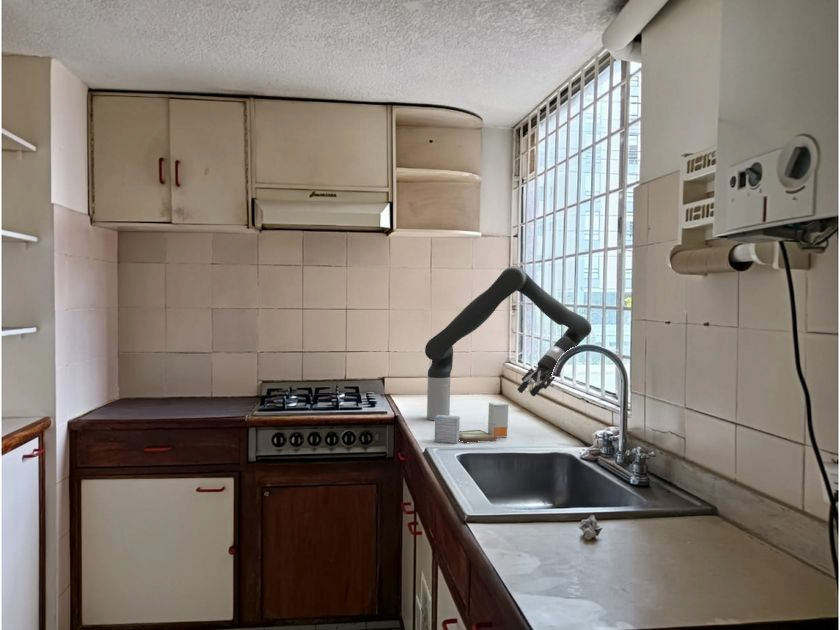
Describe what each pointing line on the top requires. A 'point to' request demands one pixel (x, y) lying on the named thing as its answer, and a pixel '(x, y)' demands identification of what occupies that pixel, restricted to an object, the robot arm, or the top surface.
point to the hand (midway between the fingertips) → (525, 393)
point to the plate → (475, 436)
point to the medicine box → (447, 428)
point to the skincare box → (498, 419)
